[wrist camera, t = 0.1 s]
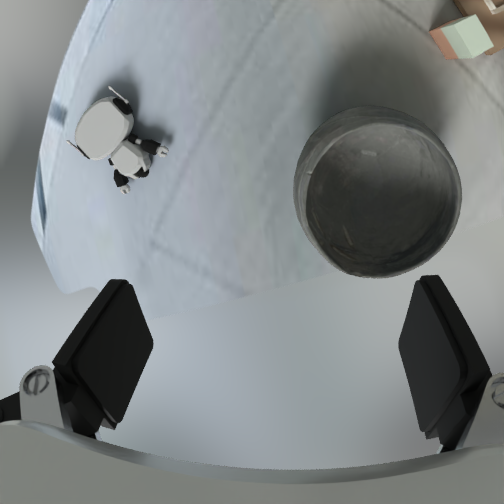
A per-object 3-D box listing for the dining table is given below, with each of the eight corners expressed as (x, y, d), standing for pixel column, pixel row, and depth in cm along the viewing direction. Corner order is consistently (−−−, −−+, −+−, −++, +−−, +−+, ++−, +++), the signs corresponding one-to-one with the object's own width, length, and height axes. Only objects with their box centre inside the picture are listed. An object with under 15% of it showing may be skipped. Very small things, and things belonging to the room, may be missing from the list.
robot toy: (179, 145, 45) (118, 81, 39) (170, 153, 41) (105, 83, 35) (131, 191, 50) (76, 133, 44) (120, 203, 46) (61, 140, 40)
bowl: (281, 108, 40) (279, 118, 27) (420, 100, 36) (473, 111, 23) (300, 239, 50) (304, 297, 37) (421, 226, 46) (459, 277, 33)
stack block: (428, 31, 30) (453, 24, 23) (449, 21, 28) (475, 14, 21) (446, 59, 32) (473, 57, 25) (466, 48, 30) (494, 46, 23)
